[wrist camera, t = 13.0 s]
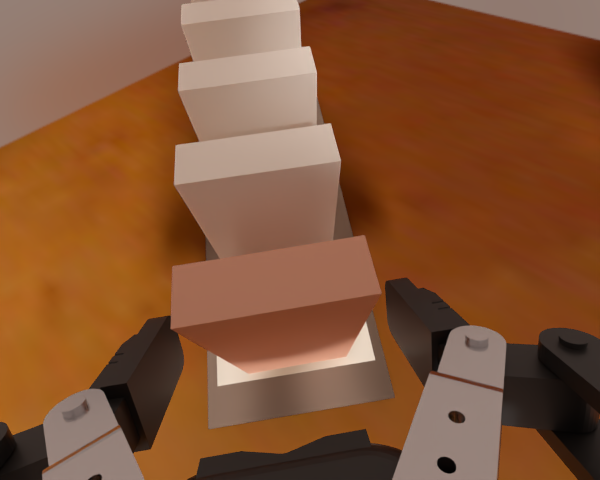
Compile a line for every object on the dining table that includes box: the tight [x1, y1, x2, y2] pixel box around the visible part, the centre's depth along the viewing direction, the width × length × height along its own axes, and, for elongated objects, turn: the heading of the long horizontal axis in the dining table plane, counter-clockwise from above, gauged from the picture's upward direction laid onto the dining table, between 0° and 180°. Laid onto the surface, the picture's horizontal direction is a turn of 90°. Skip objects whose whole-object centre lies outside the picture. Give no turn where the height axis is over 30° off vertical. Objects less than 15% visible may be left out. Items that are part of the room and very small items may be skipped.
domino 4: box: [171, 235, 381, 374], centre depth 12 cm, size 2×5×10 cm, turn 99°
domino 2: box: [178, 46, 317, 142], centre depth 16 cm, size 2×5×10 cm, turn 98°
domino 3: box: [174, 123, 341, 259], centre depth 14 cm, size 2×5×10 cm, turn 99°
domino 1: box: [181, 0, 301, 62], centre depth 18 cm, size 2×5×10 cm, turn 98°
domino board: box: [206, 99, 395, 429], centre depth 21 cm, size 9×22×1 cm, turn 9°
